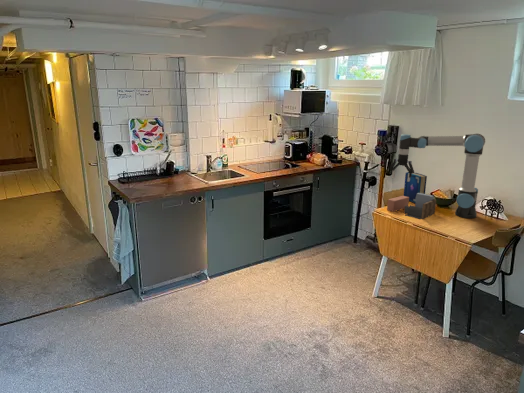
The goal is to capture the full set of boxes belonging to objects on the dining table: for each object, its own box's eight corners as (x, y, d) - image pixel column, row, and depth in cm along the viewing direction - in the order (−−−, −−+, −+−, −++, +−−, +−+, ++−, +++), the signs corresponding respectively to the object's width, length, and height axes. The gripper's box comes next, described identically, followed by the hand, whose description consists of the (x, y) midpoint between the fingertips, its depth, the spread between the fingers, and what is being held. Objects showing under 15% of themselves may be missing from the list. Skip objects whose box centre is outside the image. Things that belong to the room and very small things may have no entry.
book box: (386, 209, 324) (388, 199, 322) (401, 205, 335) (402, 195, 333) (393, 211, 319) (394, 201, 317) (408, 207, 331) (409, 197, 328)
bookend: (405, 212, 317) (405, 204, 315) (424, 217, 306) (425, 208, 304) (400, 214, 313) (401, 205, 311) (420, 219, 301) (421, 210, 299)
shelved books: (418, 209, 324) (420, 192, 320) (432, 213, 316) (435, 195, 311) (414, 211, 320) (416, 193, 316) (429, 214, 312) (431, 196, 308)
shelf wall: (432, 213, 315) (434, 199, 312) (434, 213, 314) (436, 199, 311) (421, 218, 302) (423, 203, 299) (423, 219, 301) (424, 204, 298)
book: (401, 198, 357) (404, 171, 350) (408, 197, 359) (411, 170, 352) (417, 204, 337) (420, 176, 331) (424, 204, 339) (427, 175, 333)
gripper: (386, 152, 321) (384, 177, 327) (416, 156, 303) (412, 183, 309) (391, 151, 326) (389, 176, 332) (420, 155, 308) (417, 181, 314)
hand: (400, 179), depth 321 cm, fingers open, 13 cm apart
